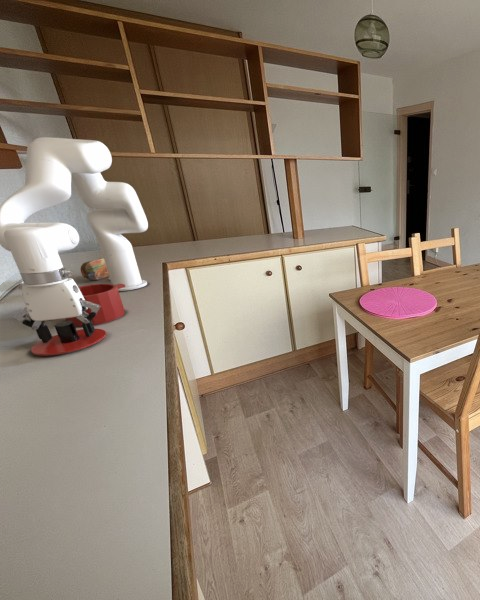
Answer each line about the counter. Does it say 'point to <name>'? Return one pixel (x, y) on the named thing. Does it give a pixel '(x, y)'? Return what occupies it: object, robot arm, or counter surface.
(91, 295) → the pot
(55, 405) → the counter surface
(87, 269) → the tin
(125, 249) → the robot arm
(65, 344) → the pot lid
